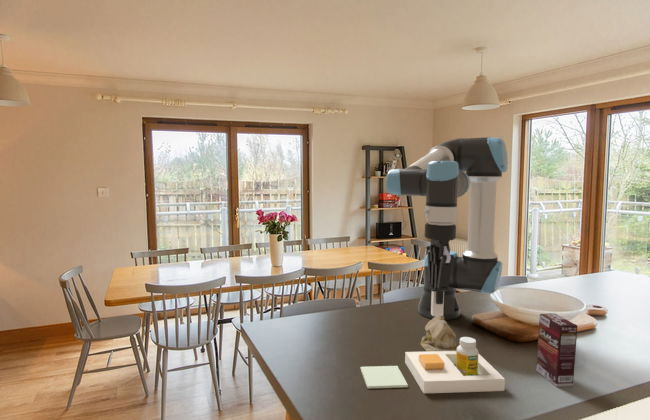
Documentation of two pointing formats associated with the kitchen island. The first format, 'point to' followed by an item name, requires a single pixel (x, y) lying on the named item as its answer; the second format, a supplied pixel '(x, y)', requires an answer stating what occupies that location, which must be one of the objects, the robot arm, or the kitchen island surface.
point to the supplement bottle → (467, 357)
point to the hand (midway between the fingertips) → (436, 314)
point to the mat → (383, 377)
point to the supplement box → (556, 349)
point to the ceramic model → (439, 336)
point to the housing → (453, 375)
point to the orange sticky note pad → (431, 361)
